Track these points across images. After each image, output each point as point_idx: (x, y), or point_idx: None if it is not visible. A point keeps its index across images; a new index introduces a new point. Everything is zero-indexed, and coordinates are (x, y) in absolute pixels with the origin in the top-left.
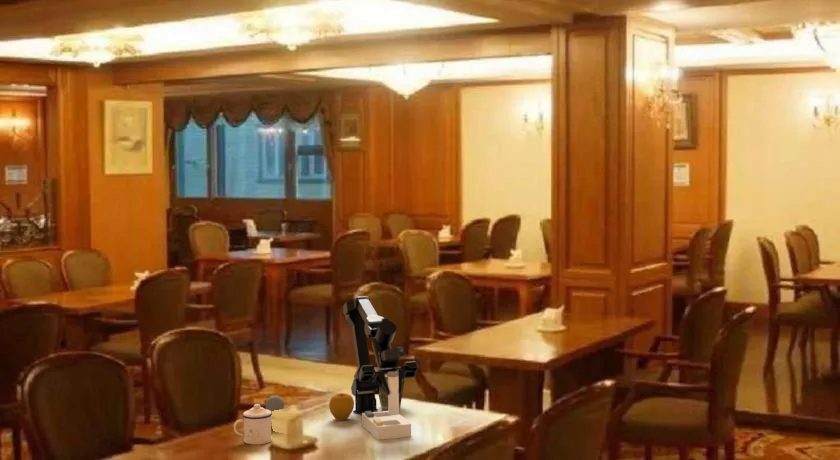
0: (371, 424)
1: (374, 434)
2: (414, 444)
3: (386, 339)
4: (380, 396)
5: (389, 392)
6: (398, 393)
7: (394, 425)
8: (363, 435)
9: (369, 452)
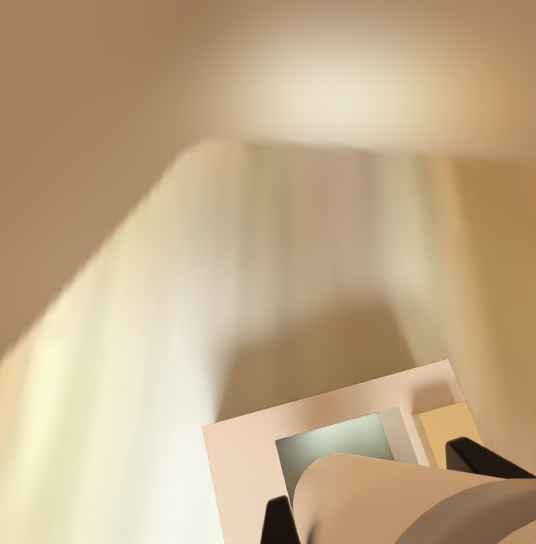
0: None
1: None
2: (211, 261)
3: None
4: None
5: (455, 447)
6: (308, 522)
7: (326, 393)
8: None
9: (433, 154)
